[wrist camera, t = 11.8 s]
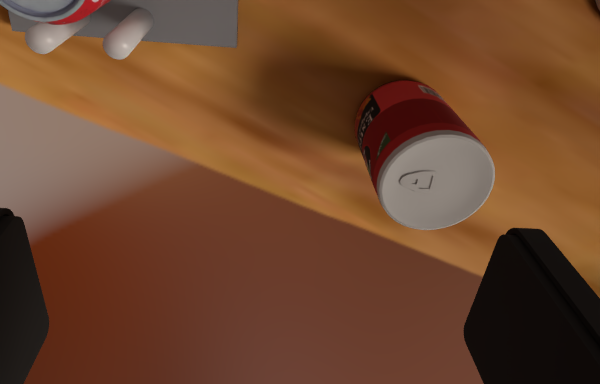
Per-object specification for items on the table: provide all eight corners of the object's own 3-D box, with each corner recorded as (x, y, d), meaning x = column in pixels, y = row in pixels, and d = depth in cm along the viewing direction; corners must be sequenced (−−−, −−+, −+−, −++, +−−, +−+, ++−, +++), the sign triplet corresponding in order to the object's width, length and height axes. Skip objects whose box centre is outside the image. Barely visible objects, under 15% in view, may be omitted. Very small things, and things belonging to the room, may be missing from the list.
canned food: (347, 87, 39) (373, 147, 30) (443, 68, 39) (499, 122, 30) (358, 166, 43) (383, 240, 34) (445, 149, 43) (494, 220, 34)
